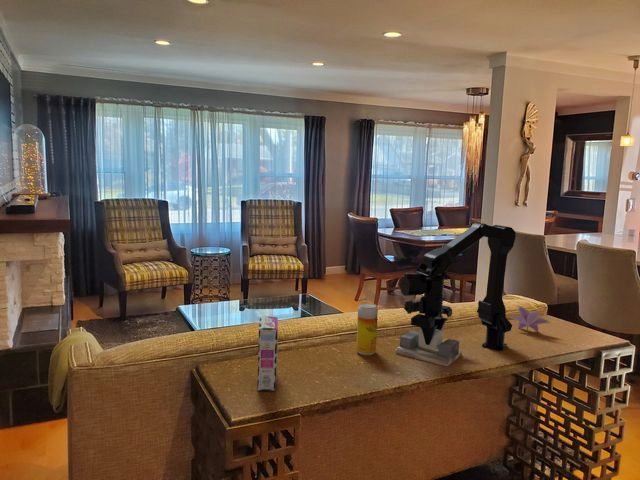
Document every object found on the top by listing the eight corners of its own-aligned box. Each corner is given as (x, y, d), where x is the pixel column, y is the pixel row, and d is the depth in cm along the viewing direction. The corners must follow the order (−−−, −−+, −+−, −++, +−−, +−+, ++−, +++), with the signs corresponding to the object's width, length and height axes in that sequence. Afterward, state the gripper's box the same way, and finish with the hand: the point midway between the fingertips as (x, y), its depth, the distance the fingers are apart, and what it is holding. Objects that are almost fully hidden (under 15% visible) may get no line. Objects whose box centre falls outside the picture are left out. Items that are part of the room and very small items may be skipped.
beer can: (374, 356, 153) (377, 308, 151) (355, 354, 155) (356, 307, 153) (376, 350, 159) (378, 303, 157) (357, 348, 161) (359, 302, 159)
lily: (553, 340, 177) (553, 313, 181) (534, 331, 171) (535, 304, 174) (522, 341, 186) (522, 316, 190) (503, 333, 180) (504, 307, 184)
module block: (424, 341, 161) (425, 325, 160) (442, 346, 157) (443, 329, 157) (418, 345, 157) (419, 329, 156) (436, 349, 154) (437, 333, 153)
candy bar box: (277, 391, 128) (278, 328, 125) (257, 391, 127) (257, 328, 125) (277, 373, 139) (277, 315, 136) (258, 374, 138) (259, 315, 136)
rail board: (412, 343, 166) (413, 328, 166) (461, 355, 157) (462, 339, 156) (395, 353, 157) (396, 338, 156) (446, 366, 147) (447, 350, 147)
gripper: (421, 284, 167) (419, 330, 169) (395, 295, 152) (393, 345, 154) (454, 289, 161) (451, 337, 163) (430, 301, 146) (427, 353, 148)
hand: (430, 342), depth 157 cm, fingers closed on module block, 4 cm apart
